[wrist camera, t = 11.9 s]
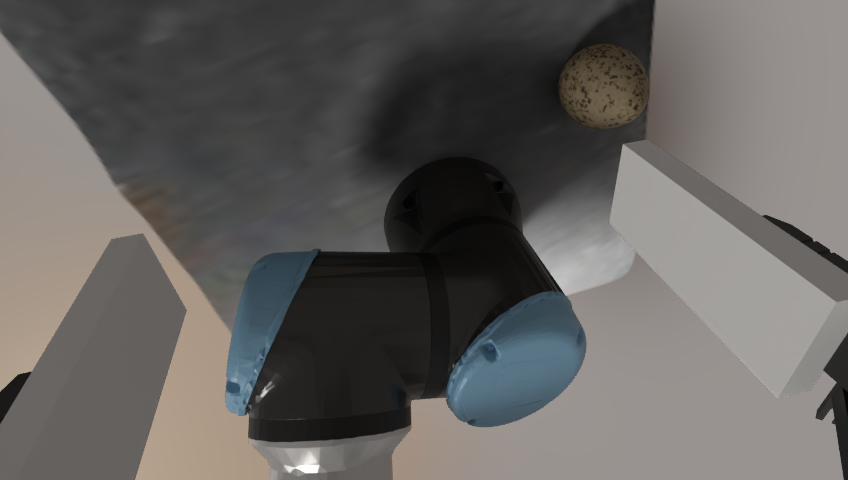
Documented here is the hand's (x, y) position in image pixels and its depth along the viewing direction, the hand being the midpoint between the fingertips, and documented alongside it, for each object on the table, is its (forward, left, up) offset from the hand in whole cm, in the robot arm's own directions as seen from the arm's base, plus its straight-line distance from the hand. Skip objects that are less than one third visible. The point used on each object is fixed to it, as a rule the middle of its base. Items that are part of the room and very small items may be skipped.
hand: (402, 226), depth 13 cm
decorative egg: (-8, -22, -32) cm, 40 cm away
